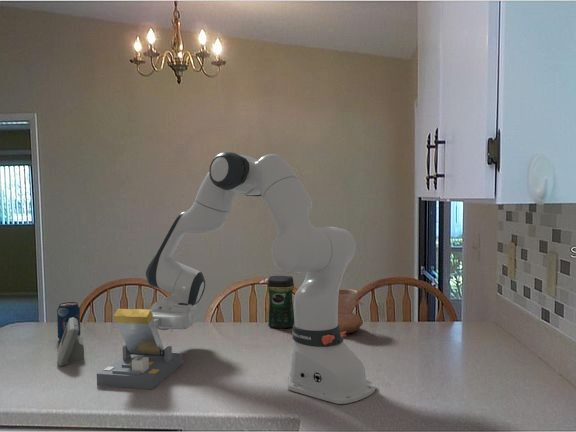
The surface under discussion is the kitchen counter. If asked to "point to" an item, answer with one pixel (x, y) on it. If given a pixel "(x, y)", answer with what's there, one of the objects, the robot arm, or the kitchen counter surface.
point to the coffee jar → (280, 301)
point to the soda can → (67, 316)
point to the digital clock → (70, 344)
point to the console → (125, 377)
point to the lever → (139, 332)
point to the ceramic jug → (348, 311)
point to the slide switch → (140, 364)
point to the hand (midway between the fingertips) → (142, 326)
